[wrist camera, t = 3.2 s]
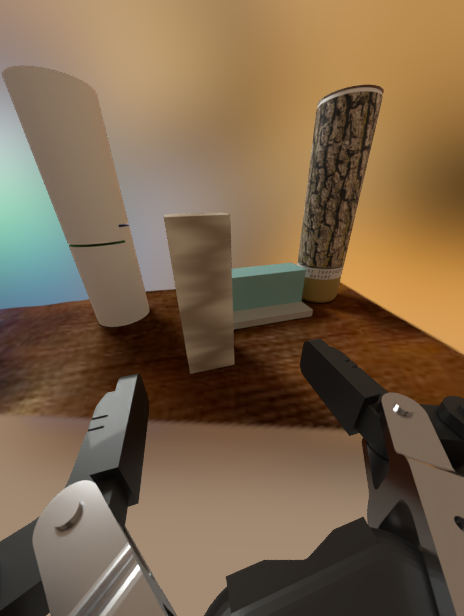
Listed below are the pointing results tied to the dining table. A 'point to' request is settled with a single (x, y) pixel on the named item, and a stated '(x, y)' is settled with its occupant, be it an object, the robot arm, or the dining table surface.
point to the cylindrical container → (81, 186)
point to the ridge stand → (268, 294)
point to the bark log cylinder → (335, 185)
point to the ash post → (203, 286)
